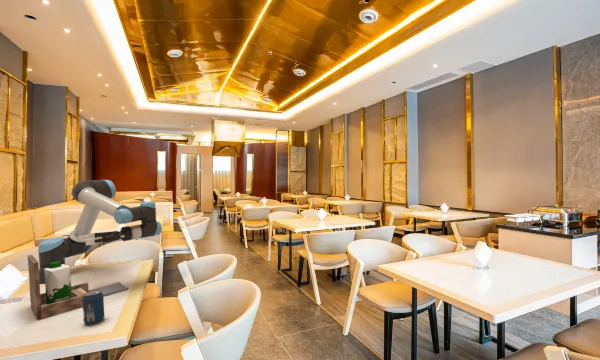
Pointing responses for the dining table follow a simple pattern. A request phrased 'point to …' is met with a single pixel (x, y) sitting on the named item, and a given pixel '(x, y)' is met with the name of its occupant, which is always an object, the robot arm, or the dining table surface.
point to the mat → (111, 289)
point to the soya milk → (57, 282)
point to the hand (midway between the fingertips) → (82, 240)
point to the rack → (40, 299)
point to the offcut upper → (78, 292)
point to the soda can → (93, 307)
